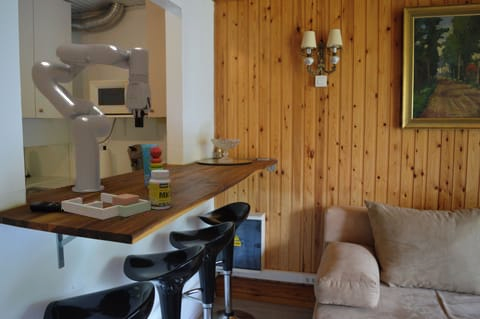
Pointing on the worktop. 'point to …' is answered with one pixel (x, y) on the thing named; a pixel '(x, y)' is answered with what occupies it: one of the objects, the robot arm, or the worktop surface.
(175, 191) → the worktop surface
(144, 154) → the tube
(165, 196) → the supplement bottle
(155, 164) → the stacking toy
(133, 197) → the block
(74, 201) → the box
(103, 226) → the worktop surface
